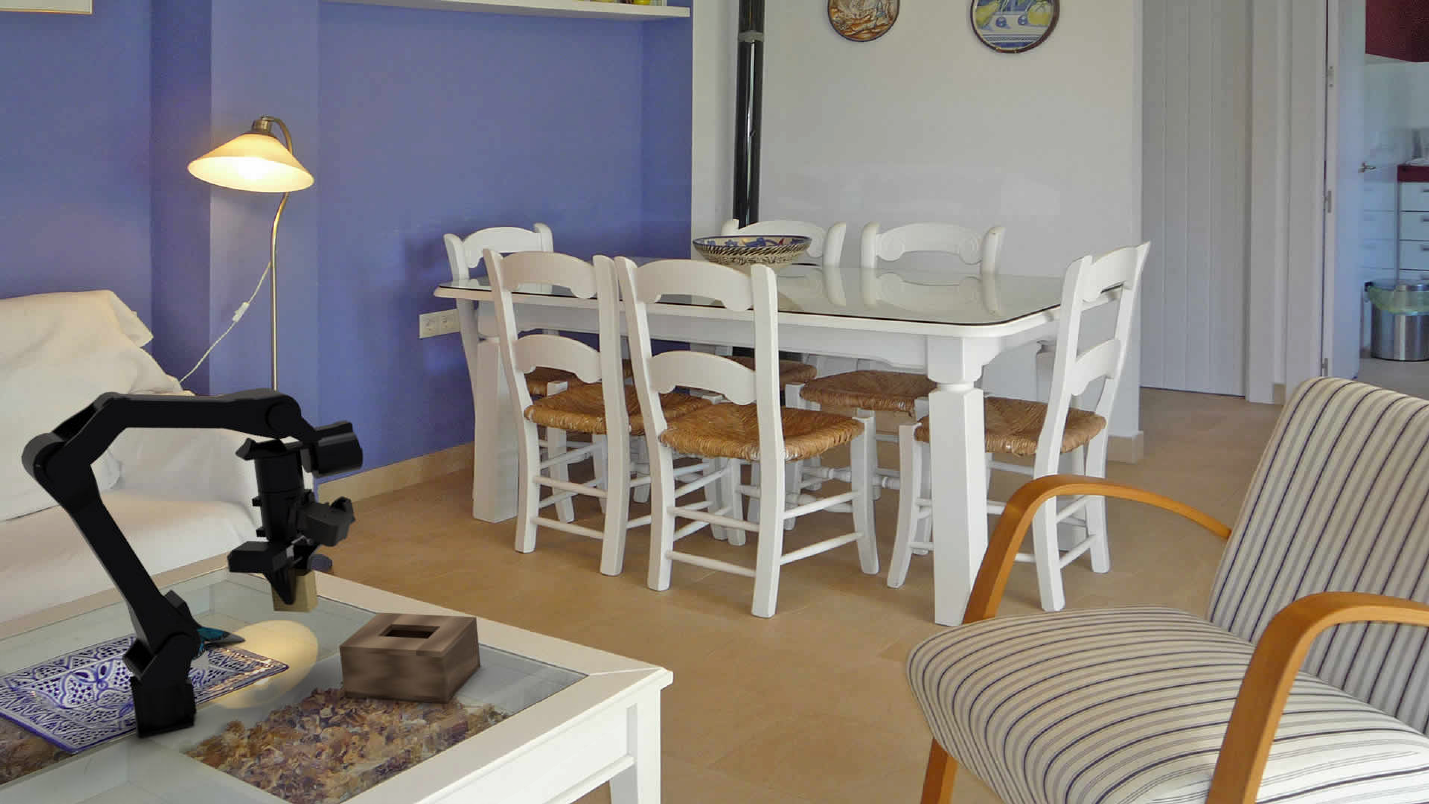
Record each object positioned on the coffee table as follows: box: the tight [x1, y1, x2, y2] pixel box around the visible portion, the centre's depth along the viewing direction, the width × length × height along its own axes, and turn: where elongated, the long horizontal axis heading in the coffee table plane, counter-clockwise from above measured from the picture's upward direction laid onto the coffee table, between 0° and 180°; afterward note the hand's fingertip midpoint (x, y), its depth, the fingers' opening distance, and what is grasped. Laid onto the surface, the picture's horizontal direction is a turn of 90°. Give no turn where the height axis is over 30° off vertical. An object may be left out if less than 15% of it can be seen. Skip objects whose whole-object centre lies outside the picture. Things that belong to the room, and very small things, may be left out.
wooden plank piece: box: [270, 568, 319, 613], centre depth 164 cm, size 5×2×5 cm, turn 78°
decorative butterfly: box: [190, 612, 246, 671], centre depth 176 cm, size 10×6×10 cm
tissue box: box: [338, 612, 482, 704], centre depth 164 cm, size 14×11×7 cm
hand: (295, 600), depth 164 cm, fingers closed on wooden plank piece, 2 cm apart
